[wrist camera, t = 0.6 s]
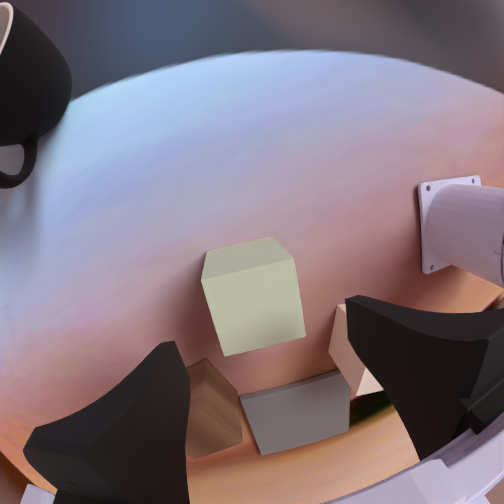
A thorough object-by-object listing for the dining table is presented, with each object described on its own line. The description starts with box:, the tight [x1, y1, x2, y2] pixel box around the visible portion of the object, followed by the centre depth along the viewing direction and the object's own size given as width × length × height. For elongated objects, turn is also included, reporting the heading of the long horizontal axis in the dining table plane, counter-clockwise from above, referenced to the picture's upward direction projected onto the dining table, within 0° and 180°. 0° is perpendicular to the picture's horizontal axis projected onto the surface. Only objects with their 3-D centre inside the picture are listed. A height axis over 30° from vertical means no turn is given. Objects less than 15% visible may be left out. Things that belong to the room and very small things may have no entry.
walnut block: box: [185, 358, 243, 459], centre depth 18 cm, size 4×4×6 cm
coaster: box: [240, 369, 350, 455], centre depth 23 cm, size 10×10×1 cm
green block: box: [201, 236, 306, 357], centre depth 16 cm, size 4×4×6 cm
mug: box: [0, 3, 72, 189], centre depth 10 cm, size 12×9×10 cm
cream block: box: [328, 304, 384, 396], centre depth 19 cm, size 4×4×6 cm
